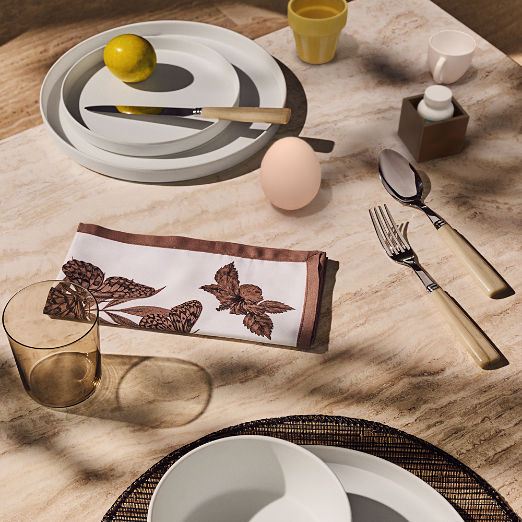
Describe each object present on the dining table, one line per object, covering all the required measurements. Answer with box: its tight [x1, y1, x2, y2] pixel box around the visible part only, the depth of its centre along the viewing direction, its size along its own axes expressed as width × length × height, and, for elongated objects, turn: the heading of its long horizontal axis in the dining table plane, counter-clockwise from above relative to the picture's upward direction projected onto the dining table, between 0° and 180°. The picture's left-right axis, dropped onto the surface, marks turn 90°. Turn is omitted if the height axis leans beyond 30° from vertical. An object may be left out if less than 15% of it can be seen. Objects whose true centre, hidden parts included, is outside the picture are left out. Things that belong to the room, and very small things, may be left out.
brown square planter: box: [397, 92, 471, 164], centre depth 105 cm, size 7×7×7 cm
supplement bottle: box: [417, 84, 454, 124], centre depth 104 cm, size 5×5×10 cm
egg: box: [259, 136, 322, 211], centre depth 96 cm, size 9×9×11 cm
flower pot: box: [287, 0, 349, 65], centre depth 121 cm, size 10×10×10 cm
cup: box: [426, 29, 477, 85], centre depth 116 cm, size 8×10×7 cm
